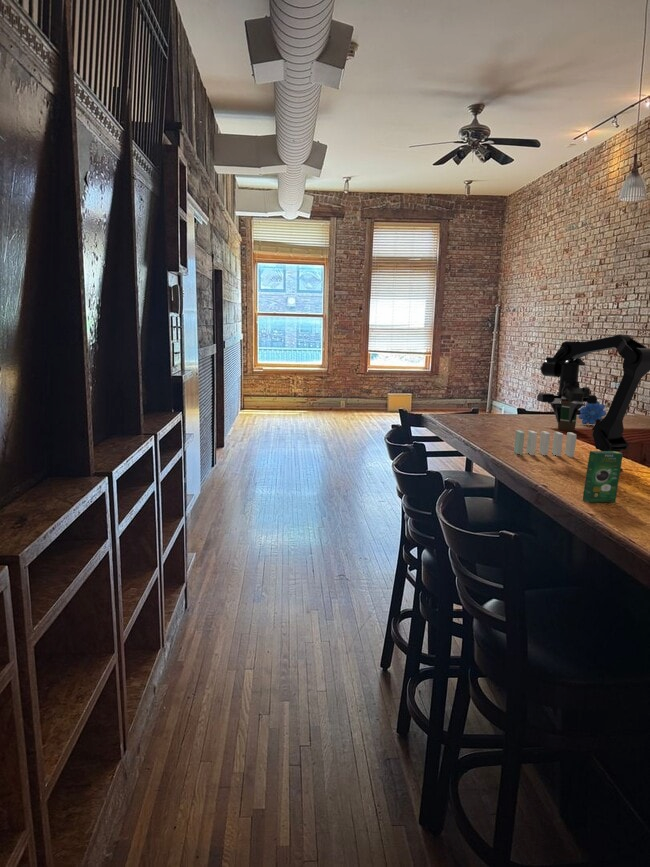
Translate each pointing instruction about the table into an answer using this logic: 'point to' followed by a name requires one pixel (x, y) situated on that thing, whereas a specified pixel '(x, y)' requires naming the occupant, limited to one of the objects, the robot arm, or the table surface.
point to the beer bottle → (566, 418)
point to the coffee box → (602, 476)
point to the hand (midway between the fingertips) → (564, 422)
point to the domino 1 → (519, 442)
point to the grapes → (592, 413)
